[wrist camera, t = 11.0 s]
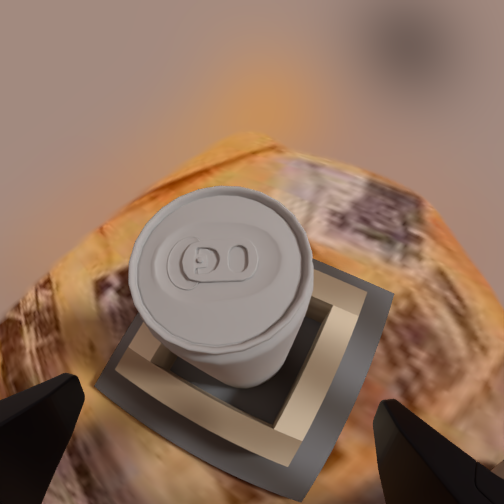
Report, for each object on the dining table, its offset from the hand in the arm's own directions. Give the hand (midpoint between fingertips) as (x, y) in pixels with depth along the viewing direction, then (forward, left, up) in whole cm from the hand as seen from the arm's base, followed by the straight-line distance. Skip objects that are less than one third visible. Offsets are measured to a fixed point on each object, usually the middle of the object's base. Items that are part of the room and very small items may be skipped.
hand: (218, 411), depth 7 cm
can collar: (+3, +2, -11) cm, 11 cm away
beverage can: (+3, +1, -10) cm, 11 cm away
